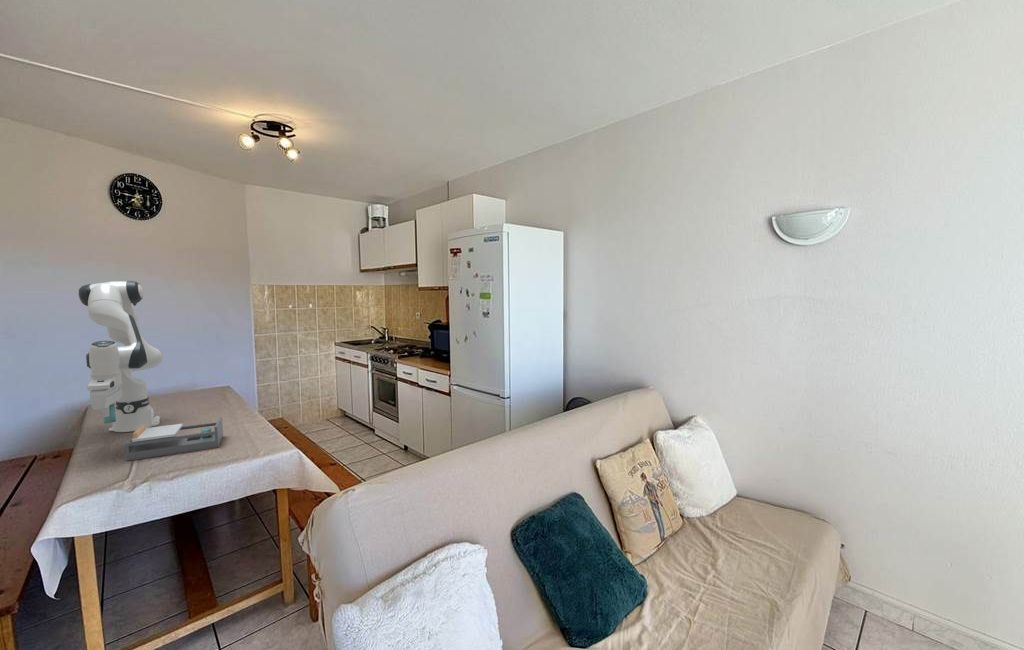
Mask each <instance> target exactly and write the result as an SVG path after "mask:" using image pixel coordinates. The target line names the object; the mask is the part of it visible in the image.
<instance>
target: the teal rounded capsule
mask: <svg viewBox="0 0 1024 650" xmlns="http://www.w3.org/2000/svg"><path fill="white" fill-rule="evenodd" d="M109 411H110V414H111V415H110V416H108V417H104V416H103V415H102V417H103V424H112V422H116V413H115V411H116V406H115V405H110V406H109Z"/></svg>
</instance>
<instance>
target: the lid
mask: <svg viewBox="0 0 1024 650" xmlns="http://www.w3.org/2000/svg"><path fill="white" fill-rule="evenodd" d="M183 426H184V423H178V424H169V425H160V426H159V425H158V426H152V427H149V428H146V424H145V425H141V426H140V427H139V428H138V429H137V430H136V431H133V433H132V436H133V439H132V442H136V441H144V440H151V439H159V438H166V437H174V436H178V433H179V432H180V431H181V430H180V429H181V428H182V427H183Z"/></svg>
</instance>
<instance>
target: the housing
mask: <svg viewBox="0 0 1024 650" xmlns="http://www.w3.org/2000/svg"><path fill="white" fill-rule="evenodd" d="M212 427H213V428H214V430H212ZM199 428H202V429H201V430H200V432H197V433H196V432H195V433H190V434H189V433H188V434H181V435H176V436H174V437H166V438H159V439H151V440H144V441H136V442H132V439H133V435H132V436H131V437H130V438H129V439H128V440H127V441H126V442H125V443H124V448H125V461H128V462H129V461H134V460H141V459H147V458H148V459H149V458H154V457H160V456H161V457H162V456H166V455H167V456H168V455H176V454H182V453H188V452H194V451H202V450H209V449H215V448H220V445H221V443H222V440H223V438H224V430H223V428H224V427H223V417H218V419H217V421H216V422H209V423H208V422H207V423H200V424H192V425H186V426H185V425H183V427H182V428H181V429H180V431H183V430H191V429H199Z"/></svg>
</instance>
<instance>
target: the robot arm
mask: <svg viewBox="0 0 1024 650" xmlns="http://www.w3.org/2000/svg"><path fill="white" fill-rule="evenodd" d="M77 296H78V300H79V301H80V302H81V303H82V305H84V306H86V307H87V313H88V316H89V318H90V320H91V321H93V323H96V324H98V325H100V326H103V327H106V328H107V335H108V337H109V340H99V341H94V342H92V343H90V346H89V352H88V353H86V355H85V357H86V367H87V368H89V369H91V371H90V375H89V376H90V381H89V383H88V384H87V387H86V388H87V391H88V392H89V398H90V404H91V405H90V406H91V408H92V409H93V410H94V411H97V410H101V412H102V417H103V416H104V417H108V416H110V415H111V414H110V411H109V406H110V405H115V413H116V422H112V423H111V424H112V426H111V427H109V428H108V432H115V433H128V432H129V433H131V432H135V431H136V430H137V429H138V428H139V427H140V426H141V425H145V424H146V428H151V427H157V426H159V425H160V422H161V416H159V415H155V411H154V408H153V407H152V406H151V405H150V397H149V395H148V389H147V383H146V381H145V380H143V379H141V378H137V377H133V376H132V372H138V371H143V370H150V369H152V368H156V367H158V366H160V365H161V363H162V361H163V354H162V352H161V350H159V349H158V348H156V347H155V346H152V345H151V344H149V343H148V342H147V341H146V340H145V339H144V338H143V336H142V334H141V330H140V327H139V323H138V316H137V312H136V309H135V307H136V306H137V304H138V303H140V302H141V301H142V300H143V298H144V289H143V287H142V286H141V284H140V283H139V282H138V281H134V280H127V281H125V280H122V281H119V280H118V281H115V280H114V281H113V280H112V281H106V282H99V283H93V284H92V283H89V284H84V285H82V286H81V287H79V289H78V293H77ZM110 339H111V340H110ZM117 343H119V344H122V345H123V346H118V344H117Z"/></svg>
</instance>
